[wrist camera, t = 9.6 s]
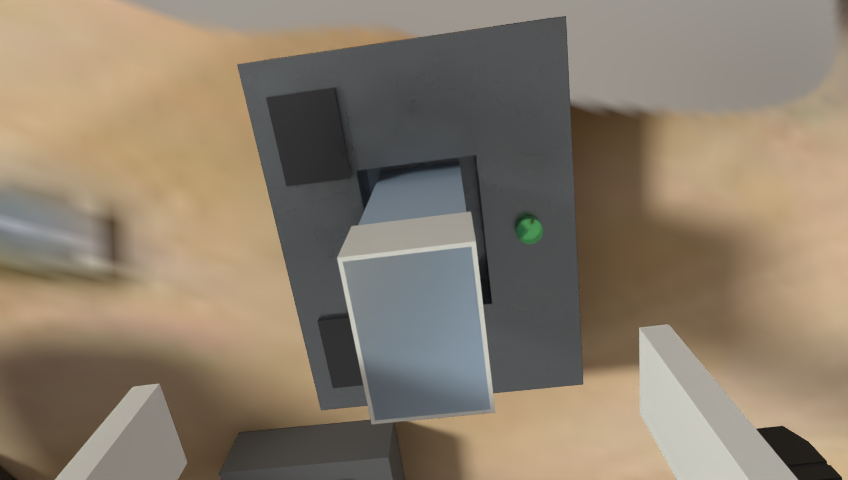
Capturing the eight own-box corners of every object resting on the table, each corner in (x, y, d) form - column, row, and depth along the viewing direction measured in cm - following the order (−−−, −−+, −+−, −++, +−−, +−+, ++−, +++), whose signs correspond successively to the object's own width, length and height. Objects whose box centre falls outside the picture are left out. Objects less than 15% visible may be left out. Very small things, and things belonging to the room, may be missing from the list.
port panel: (334, 368, 34) (318, 417, 30) (264, 60, 28) (232, 65, 23) (567, 344, 33) (586, 391, 29) (548, 18, 27) (569, 15, 22)
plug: (397, 280, 31) (371, 424, 19) (377, 168, 28) (336, 257, 17) (475, 271, 30) (495, 412, 19) (461, 157, 28) (475, 241, 17)
